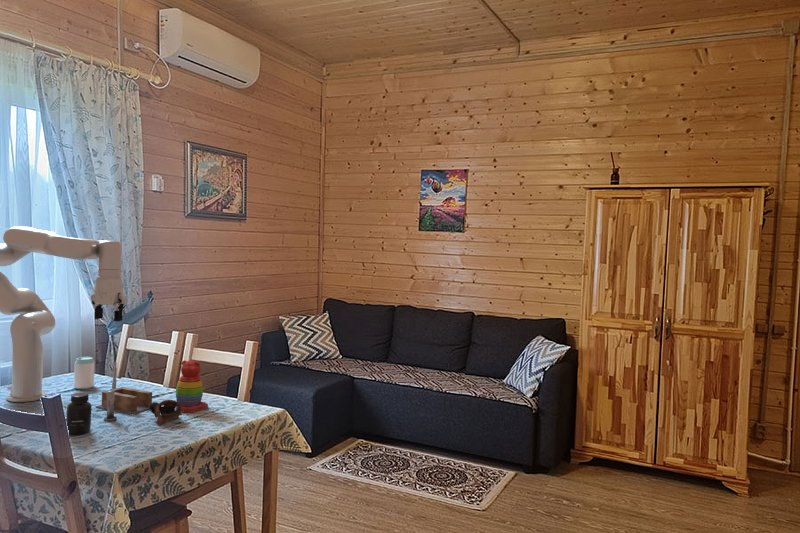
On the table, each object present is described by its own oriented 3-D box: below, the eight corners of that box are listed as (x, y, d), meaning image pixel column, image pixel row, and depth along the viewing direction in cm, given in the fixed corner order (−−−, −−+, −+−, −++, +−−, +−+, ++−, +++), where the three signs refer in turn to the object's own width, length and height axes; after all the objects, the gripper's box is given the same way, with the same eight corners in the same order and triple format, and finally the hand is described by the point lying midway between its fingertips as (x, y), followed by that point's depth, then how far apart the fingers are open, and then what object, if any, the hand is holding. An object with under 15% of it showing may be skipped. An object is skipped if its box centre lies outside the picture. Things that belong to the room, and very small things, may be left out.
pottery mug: (187, 419, 204) (188, 402, 200) (171, 438, 196) (171, 421, 192) (156, 407, 206) (156, 390, 201) (139, 426, 198) (138, 408, 193)
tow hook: (117, 390, 236) (102, 395, 227) (119, 358, 236) (104, 361, 227) (136, 392, 235) (122, 397, 225) (138, 360, 235) (124, 363, 225)
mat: (95, 407, 210) (95, 406, 210) (122, 399, 221) (122, 398, 221) (131, 414, 204) (131, 413, 204) (157, 406, 215) (157, 405, 215)
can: (78, 390, 231) (79, 360, 231) (70, 387, 236) (71, 357, 235) (96, 387, 237) (97, 358, 236) (89, 384, 241) (89, 355, 241)
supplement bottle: (73, 437, 179) (74, 398, 179) (61, 432, 183) (62, 394, 182) (95, 432, 185) (96, 394, 184) (83, 427, 189) (84, 390, 188)
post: (101, 420, 197) (102, 391, 196) (110, 417, 200) (111, 389, 200) (109, 422, 195) (110, 393, 195) (119, 419, 199) (119, 391, 198)
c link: (101, 405, 211) (101, 392, 211) (121, 400, 219) (122, 386, 219) (132, 411, 206) (132, 397, 206) (151, 405, 214) (152, 392, 214)
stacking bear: (209, 406, 218) (211, 359, 218) (196, 414, 208) (198, 364, 208) (182, 404, 220) (184, 356, 219) (168, 411, 210) (169, 362, 209)
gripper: (83, 272, 218) (82, 318, 218) (118, 275, 211) (117, 323, 212) (100, 272, 225) (99, 316, 225) (135, 275, 218) (134, 320, 219)
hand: (108, 319), depth 219 cm, fingers open, 9 cm apart
